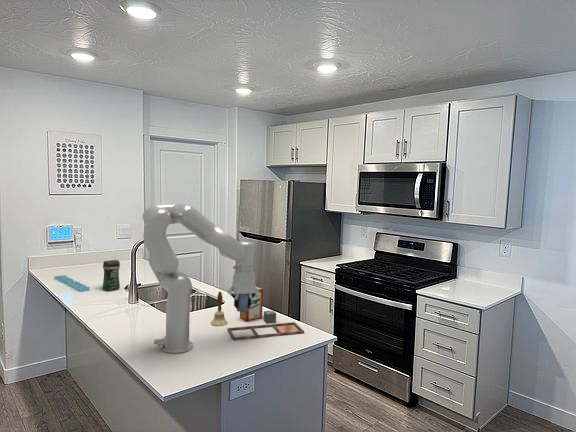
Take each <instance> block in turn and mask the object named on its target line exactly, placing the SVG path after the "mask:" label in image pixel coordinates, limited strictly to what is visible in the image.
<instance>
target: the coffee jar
mask: <svg viewBox="0 0 576 432" xmlns="http://www.w3.org/2000/svg"><path fill="white" fill-rule="evenodd" d="M102 265H103V266H102V269H103V281H102V290H103V291H105V292H110V291H111V292H112V291H117V290H120V286H121V284H120V271H119V270H120V268H121V264H120V260H117V259H113V260H104V261H103V264H102Z"/></svg>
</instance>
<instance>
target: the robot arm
mask: <svg viewBox="0 0 576 432" xmlns="http://www.w3.org/2000/svg"><path fill="white" fill-rule="evenodd" d="M142 220H143V222H144V223H145V226H144V230H143V235H142V237H143V242H144V245H145V248H146V249H147V251H148V254H149V256H148V264H149V266H150V269H151V270H152V272H153V274H154V276H155V277H156V279H157V282H158V283H159V285H160V286H161V288H162V289H164V290H165V291H166V292H167V298H166V302H165V335H164V337H162V338H161V339H160V338H159V339H158V338H156V339H154V340H153V344H154V345H157V346H161V350H162V351H163V352H165V353H169V354H182V353H186V352H188V351H191V350H192V349H193V348H194V343H193V342H192V341H191V340H190V323H191V322H190V320H191V319H190V318H191V317H190V316H191V315H190V313H191V311H190V310H191V308H190V307H191V296H192V290H193V283H192V281H191V278H190V277H189V276H188V275H186V274H185V273H184V272H181V271H180V270H179V269H178V267H179V260H178V257H177V255H176V253H175V252H174V250H173V247H172V246H171V244H170V242H169V240H168V238H167V230H168V227H169V226H170V225H174V224H179V225H182V226H183V227H184V228H185V229H187V230H188V231H190V232H191V233H192V234H193V235H195V236H196V237H198V239H200V240H201V241H203V242H205V243H207V244H209V245H211V246H213V247H215V248H217V249H218V252H219V253H220V255H221V256H223V257H224V258H227V259H229V260H231V261H236V263H235V265H233V266H232V269H233V270H234V273H233V277H232V283H231V284H232V285H231V286H230V287H229V288H228V290H227V295H230V296H231V297H232V298H233V300H234V301H233V307H234V308H236V310H237V309H238V296H239V294H249V296H248V308H250V306H251V299H252V298H253V297H254V296H255V295H256V294H257V293H258V292H259V291H258V289H257V288H256V287H257V286H256V274H255V271H253V270H254V269H253V268H254V252H255V245H254V242H252V241H249V240H248V241H247V240H241V241H238V240H237V239H236V238H234V237H233V236H232V235H231V234H230V233H227V232H226V231H224V230H223V229H222V228H221V227H219V226H218V225H216V224H215V223H214V222H213V221H211V220H210V219H209V218H207V217H206V216H205V215H203V214H202V212H200V211H199V210H198V209H197V208H196V207H194V206H192V205H191V204H184V203H172V204H161V205H152V206H148V207H146V209H144V211H143V212H142ZM255 286H256V287H255Z"/></svg>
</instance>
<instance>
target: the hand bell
mask: <svg viewBox="0 0 576 432" xmlns="http://www.w3.org/2000/svg"><path fill="white" fill-rule="evenodd" d="M216 301H217V311H215V313H214V317H213V319H212V320H211V321H210V325H211V326H214V327H222V326H223V327H224V326H226V325H228V321H227V320H226V317H225V312H224V311H222V303H223V294H222V291H218V294H217V299H216Z"/></svg>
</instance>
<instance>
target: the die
mask: <svg viewBox="0 0 576 432" xmlns="http://www.w3.org/2000/svg"><path fill="white" fill-rule="evenodd" d="M263 322H264V323H265V325H268V324H269V323H270V324H277V312H276V311H274V310H273V309H271V310H264V311H263Z"/></svg>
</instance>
